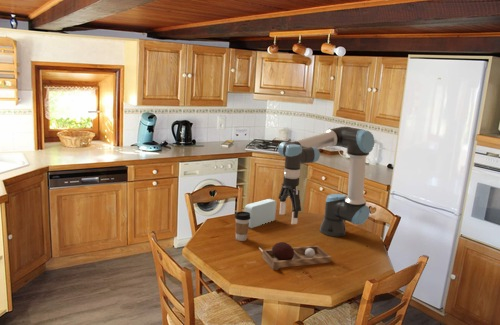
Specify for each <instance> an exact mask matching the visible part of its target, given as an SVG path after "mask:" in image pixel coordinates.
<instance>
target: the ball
mask: <svg viewBox="0 0 500 325" xmlns="http://www.w3.org/2000/svg"><path fill="white" fill-rule="evenodd" d="M305 255H306V257H308V258H313V257H314V255H315V251H314V250H313V249H312V248H308V249H306V251H305Z"/></svg>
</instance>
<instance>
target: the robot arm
mask: <svg viewBox="0 0 500 325" xmlns="http://www.w3.org/2000/svg"><path fill="white" fill-rule="evenodd" d="M328 147H329V148H333V147H341V148H345V149H347V150H346V153H347V155H348V156H349V162H348V163H349V165H348V183H347V195H346V194H344V193H342V194H341V193H330V194H328V195H327V196H326V200H325V207H324V208H325V209H324V215H323V220H322V222H321V224H320V226H319V232H320V233H322V234H323V235H325V236H328V237H329V236H330V237H336V238H337V237H344V236H345V235H346V232H347V230H346V225H345V221H347V222H348V223H352V224H354V225H359V226H360V225H363V224H364V223H365V222H366V221H367V220H368V219H369V217H370V212H371V210H370V207H369V206H368V205H367V200H366V199H365V198H364V193H365V176H366V175H365V173H366V161H367V160H366V159H367V157H368V156H369V155H370V153H371V152H372V151H373V149H374V147H375V137H374V135H373V133H372V132H371V131H369V130H366V129H363V128H356V127H351V126H339V127H336V128H331V129H328V130H326V131H325V132H323V133H320V134H316V135H312V136H309V137H305V138H302V139H298V140H294V141H291V142H288V141H282V142H281V143H280V144H279V145H278V147H277V152H278V154H279V155H280V156H282V157H284V170H283V173H284V174H283V181H282V184H281V189H280V192H279V195H278V196H277V197H278V200H279V201H280V205H279V215H285V214H286V206H287V198H288V197H289V199H290V201H291V205H292V209H293V210H292V211H291V223H290V224H291V225H297V224H298V218H299V212H302V206H301V199H300V198H301V197H300V190H298V189H297V187H298V186H299V185H300V177H301V176H300V174H301V166H302V165H304V164H310V163H311V164H312V163H315V162H318V161H319V160H320V156H321V154H320V153H321V152H320V149H323V148H328Z"/></svg>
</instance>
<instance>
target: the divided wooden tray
mask: <svg viewBox="0 0 500 325" xmlns="http://www.w3.org/2000/svg"><path fill="white" fill-rule="evenodd" d="M292 248H293V250H294V256H293V258H292V259H291V260H282V261H281V260H279V259H277V258H276V257H275V256H274V254H273V252H272V248H271V249H262V250H263V253H262V252H261V253H262V254H261V259H263V261H264V262H265V263H266V264H267V265H268V266H269V267H270V268H271V270H272V271H276V270H281V268H288V267H289V268H290V267H297V266H298V267H299V266H309V265H317V264H327V263H328V264H329V263H331V260H332V257H331V255H330V254H328V253H327V252H326V251H325V250H324V249H322V248H321V247H320V246H319V245H308V246H298V247H296V246H295V247H292ZM308 248H312V249H313V250H314V251H315V255H314V257H313V258H308V257H306V255H305V251H306V249H308Z"/></svg>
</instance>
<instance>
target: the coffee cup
mask: <svg viewBox="0 0 500 325" xmlns="http://www.w3.org/2000/svg"><path fill="white" fill-rule="evenodd" d="M234 216H235V217H234V218H235V221H234V222H235V224H234V225H235V240H237V241H239V242H245V241H246V240H247V238H248V231H249V219H250V213H249V212H245V211H237V212H235V215H234Z"/></svg>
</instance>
